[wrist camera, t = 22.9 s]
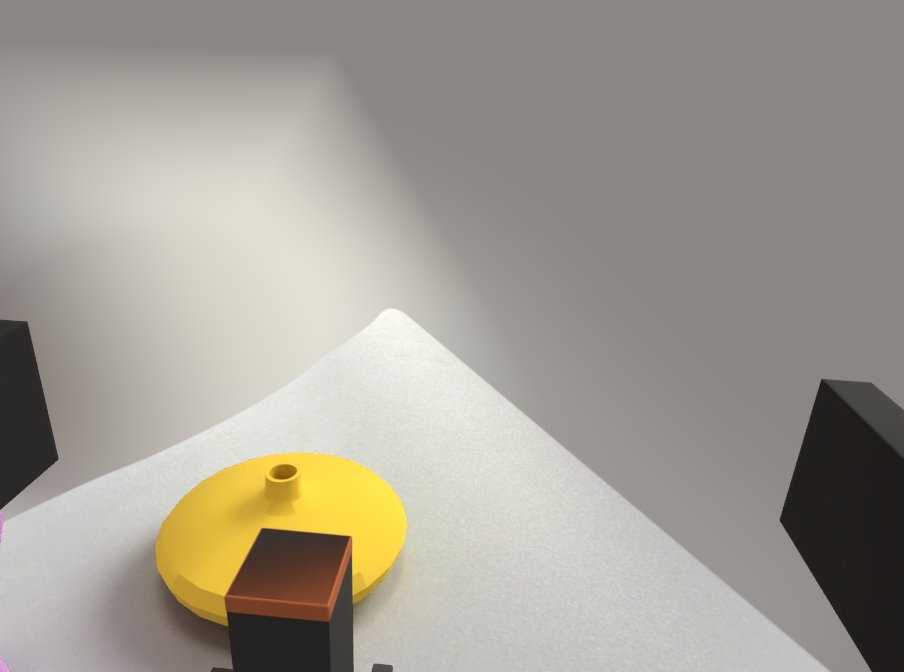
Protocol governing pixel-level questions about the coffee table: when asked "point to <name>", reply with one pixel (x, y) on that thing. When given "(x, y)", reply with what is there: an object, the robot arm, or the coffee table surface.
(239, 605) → the standing box
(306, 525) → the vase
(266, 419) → the coffee table surface
